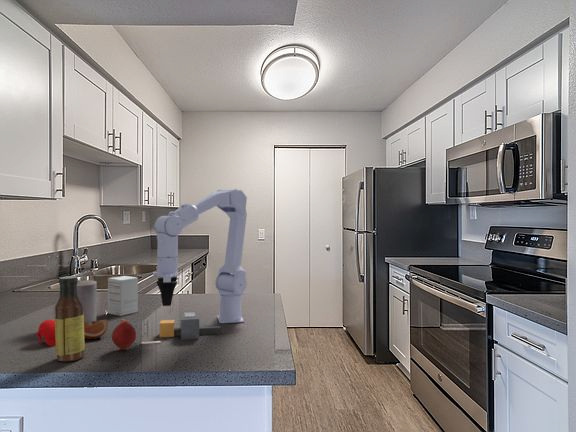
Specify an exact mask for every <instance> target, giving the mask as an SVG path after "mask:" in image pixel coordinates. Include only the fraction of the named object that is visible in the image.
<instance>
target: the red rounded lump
mask: <svg viewBox="0 0 576 432" xmlns="http://www.w3.org/2000/svg"><path fill="white" fill-rule="evenodd" d="M120 322H121V323H119V324H118V325H117V326H116V327H115V328H114V330H113V331H112V334H111V340H112V343H113V345H114V346H116V347H117V348H119V349H120V350H121V351H125V350H127V349H128V348H129V347H131V346H132V345H133V344H134V343H135V340H136V339H137V338H136V337H137V332H136V329H135V327H134V326H133V325H132V324H131V323H130V322H128V321H127V320H126V319H124V318H122V319H121V320H120Z"/></svg>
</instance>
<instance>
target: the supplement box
mask: <svg viewBox="0 0 576 432" xmlns="http://www.w3.org/2000/svg"><path fill="white" fill-rule="evenodd" d="M107 281H108V282H107V286H108V288H107V313H108V314H110V315H114V316H119V317H122V316H126V315H130V314H135V313H137V312H138V311H139V310H138V309H139V307H138V306H139V303H138V302H139V298H138V297H139V292H138V291H139V289H138V288H139V286H138V285H139V277H136V276H128V275H123V276H121V275H120V276H115V277H108V278H107Z"/></svg>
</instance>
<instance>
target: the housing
mask: <svg viewBox="0 0 576 432" xmlns="http://www.w3.org/2000/svg"><path fill="white" fill-rule="evenodd" d="M199 316H200V315H199V313H198V310H187V311H184V310H183V311H182V310H181V311H180V322H179V323H180V326H179V328H181V335H180V340H181V341H186V340H189V341H190V340H199V339H200V335H199V327H200V317H199Z"/></svg>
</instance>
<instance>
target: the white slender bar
mask: <svg viewBox="0 0 576 432" xmlns="http://www.w3.org/2000/svg"><path fill="white" fill-rule="evenodd" d="M161 343H162V342H161V340H155V341H142V342H141V344H140V345H151V344H152V345H154V344H161Z"/></svg>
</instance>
